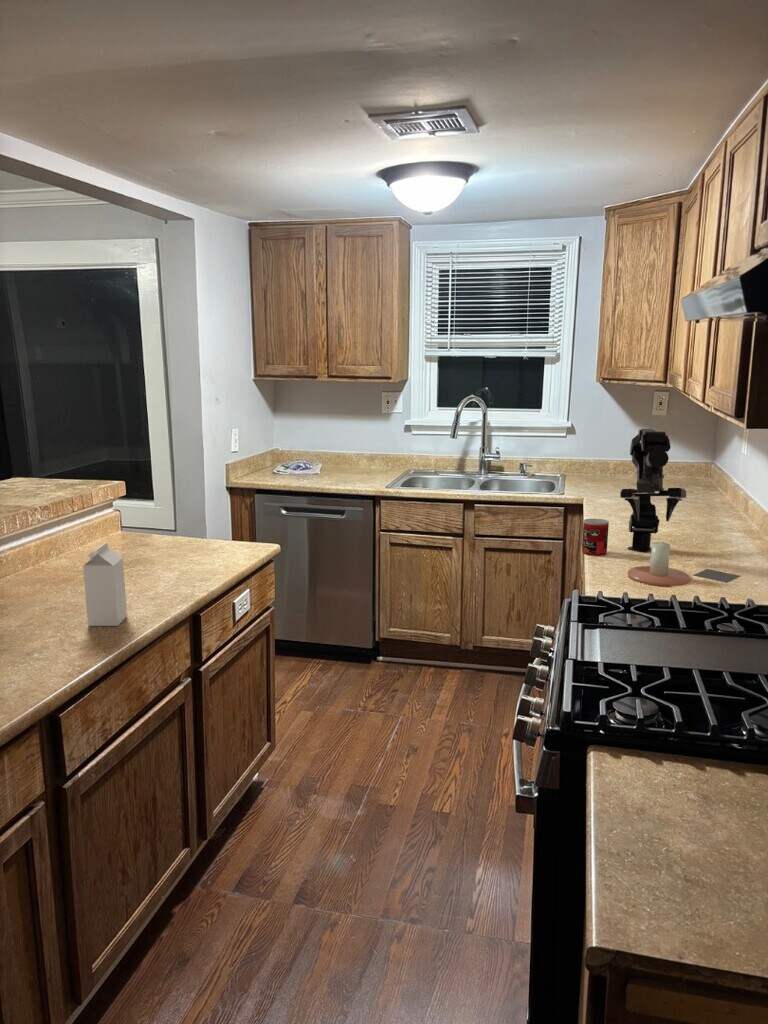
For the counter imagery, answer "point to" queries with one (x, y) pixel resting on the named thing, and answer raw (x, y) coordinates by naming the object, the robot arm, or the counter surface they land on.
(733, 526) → the counter surface
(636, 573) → the terracotta plate
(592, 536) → the canned food
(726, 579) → the rubber mat
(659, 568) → the sage canister
